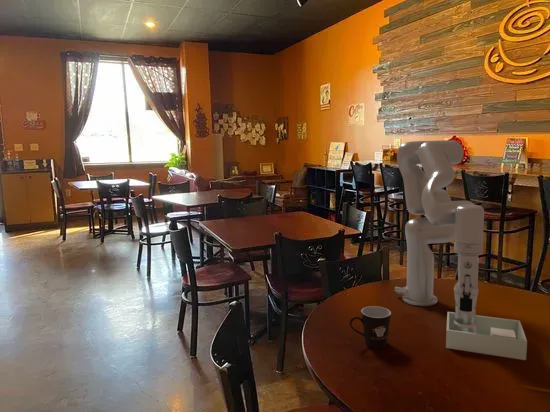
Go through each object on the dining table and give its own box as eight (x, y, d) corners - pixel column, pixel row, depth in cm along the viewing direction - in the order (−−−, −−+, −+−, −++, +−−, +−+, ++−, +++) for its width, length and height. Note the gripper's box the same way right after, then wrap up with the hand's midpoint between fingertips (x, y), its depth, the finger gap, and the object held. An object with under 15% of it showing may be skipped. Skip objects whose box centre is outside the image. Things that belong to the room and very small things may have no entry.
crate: (445, 349, 120) (446, 330, 119) (446, 329, 133) (447, 311, 132) (525, 362, 112) (527, 341, 111) (518, 339, 125) (519, 320, 124)
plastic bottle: (479, 342, 121) (482, 275, 118) (454, 340, 122) (457, 275, 119) (473, 332, 127) (476, 269, 124) (450, 330, 128) (452, 268, 125)
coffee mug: (391, 338, 128) (391, 307, 126) (389, 352, 120) (389, 319, 118) (353, 334, 132) (353, 304, 130) (349, 346, 124) (349, 314, 122)
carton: (491, 347, 119) (492, 334, 119) (490, 339, 124) (490, 327, 123) (515, 351, 117) (516, 337, 116) (513, 343, 122) (513, 330, 121)
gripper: (484, 256, 111) (481, 320, 114) (480, 241, 127) (478, 297, 129) (453, 254, 114) (451, 316, 117) (454, 239, 130) (451, 294, 132)
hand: (465, 305), depth 123 cm, fingers closed on plastic bottle, 6 cm apart
